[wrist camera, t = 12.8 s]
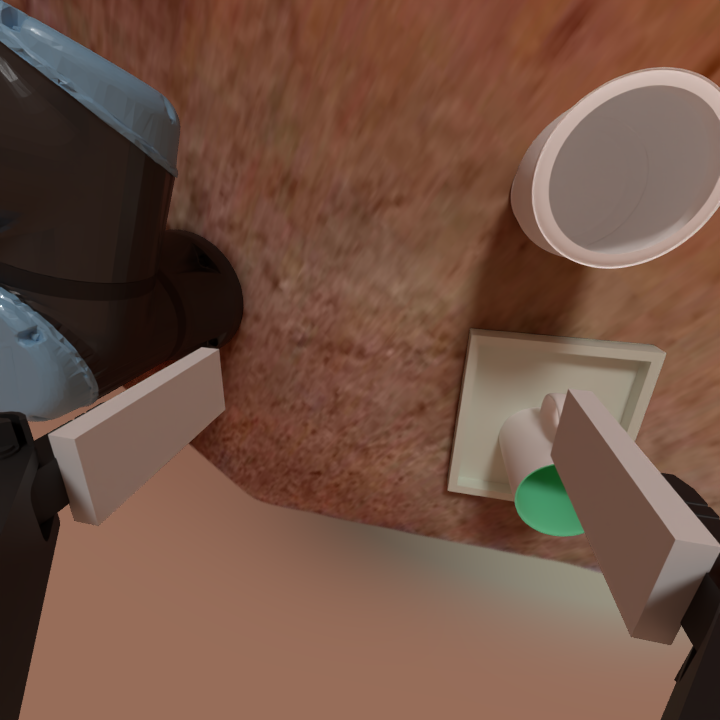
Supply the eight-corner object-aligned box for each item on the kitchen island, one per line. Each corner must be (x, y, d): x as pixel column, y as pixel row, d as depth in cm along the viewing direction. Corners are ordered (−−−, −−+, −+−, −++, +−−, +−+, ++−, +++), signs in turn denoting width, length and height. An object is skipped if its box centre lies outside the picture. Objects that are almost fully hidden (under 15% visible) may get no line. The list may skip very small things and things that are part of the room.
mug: (504, 373, 42) (523, 420, 32) (585, 375, 40) (629, 425, 31) (496, 465, 46) (511, 531, 36) (569, 470, 44) (604, 540, 35)
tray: (447, 477, 49) (447, 490, 47) (470, 328, 42) (471, 335, 39) (599, 501, 46) (607, 516, 44) (653, 344, 39) (666, 353, 36)
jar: (532, 269, 38) (582, 302, 25) (477, 179, 36) (498, 160, 23) (644, 200, 34) (778, 193, 21) (589, 95, 33) (696, 10, 19)
